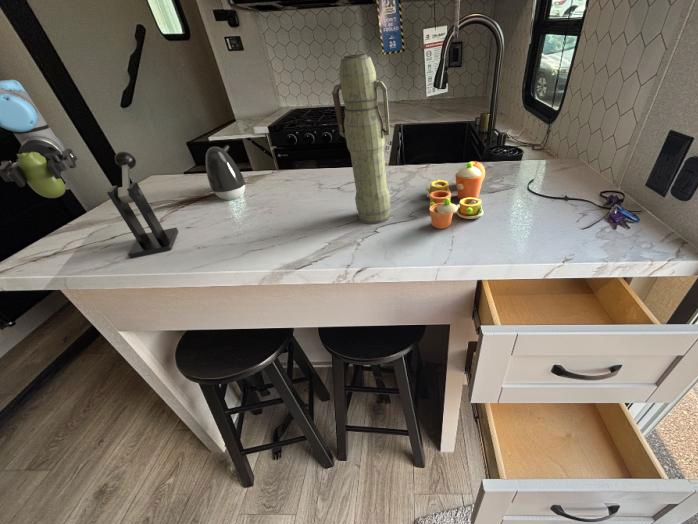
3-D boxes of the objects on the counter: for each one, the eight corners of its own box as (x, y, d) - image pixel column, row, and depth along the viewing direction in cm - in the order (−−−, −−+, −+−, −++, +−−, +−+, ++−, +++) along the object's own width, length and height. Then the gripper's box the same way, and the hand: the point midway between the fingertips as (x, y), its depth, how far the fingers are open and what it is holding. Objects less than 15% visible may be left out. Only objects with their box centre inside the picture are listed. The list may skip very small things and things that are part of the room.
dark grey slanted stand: (141, 238, 89) (107, 183, 80) (178, 231, 91) (149, 176, 82) (130, 258, 81) (90, 199, 72) (171, 250, 83) (137, 191, 74)
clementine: (466, 192, 98) (468, 167, 94) (453, 185, 103) (454, 161, 99) (488, 186, 101) (491, 161, 96) (474, 179, 106) (476, 156, 101)
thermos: (355, 210, 94) (330, 56, 72) (397, 208, 93) (385, 51, 71) (350, 224, 87) (321, 59, 65) (395, 222, 86) (382, 54, 64)
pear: (38, 203, 75) (2, 157, 69) (45, 196, 79) (11, 151, 73) (68, 197, 77) (36, 151, 71) (73, 190, 81) (43, 146, 74)
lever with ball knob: (121, 162, 84) (110, 149, 80) (139, 159, 85) (129, 146, 81) (122, 206, 79) (110, 195, 75) (141, 203, 80) (130, 191, 76)
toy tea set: (426, 191, 101) (426, 157, 95) (479, 189, 100) (481, 155, 93) (424, 232, 81) (423, 193, 75) (489, 231, 79) (494, 191, 73)
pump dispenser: (256, 192, 110) (239, 142, 101) (232, 204, 103) (211, 153, 94) (233, 189, 114) (215, 141, 104) (209, 201, 107) (186, 150, 97)
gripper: (94, 161, 92) (98, 181, 77) (7, 180, 84) (-8, 206, 69) (76, 131, 87) (76, 147, 73) (-19, 148, 79) (-41, 169, 64)
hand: (35, 176), depth 71 cm, fingers closed on pear, 5 cm apart
